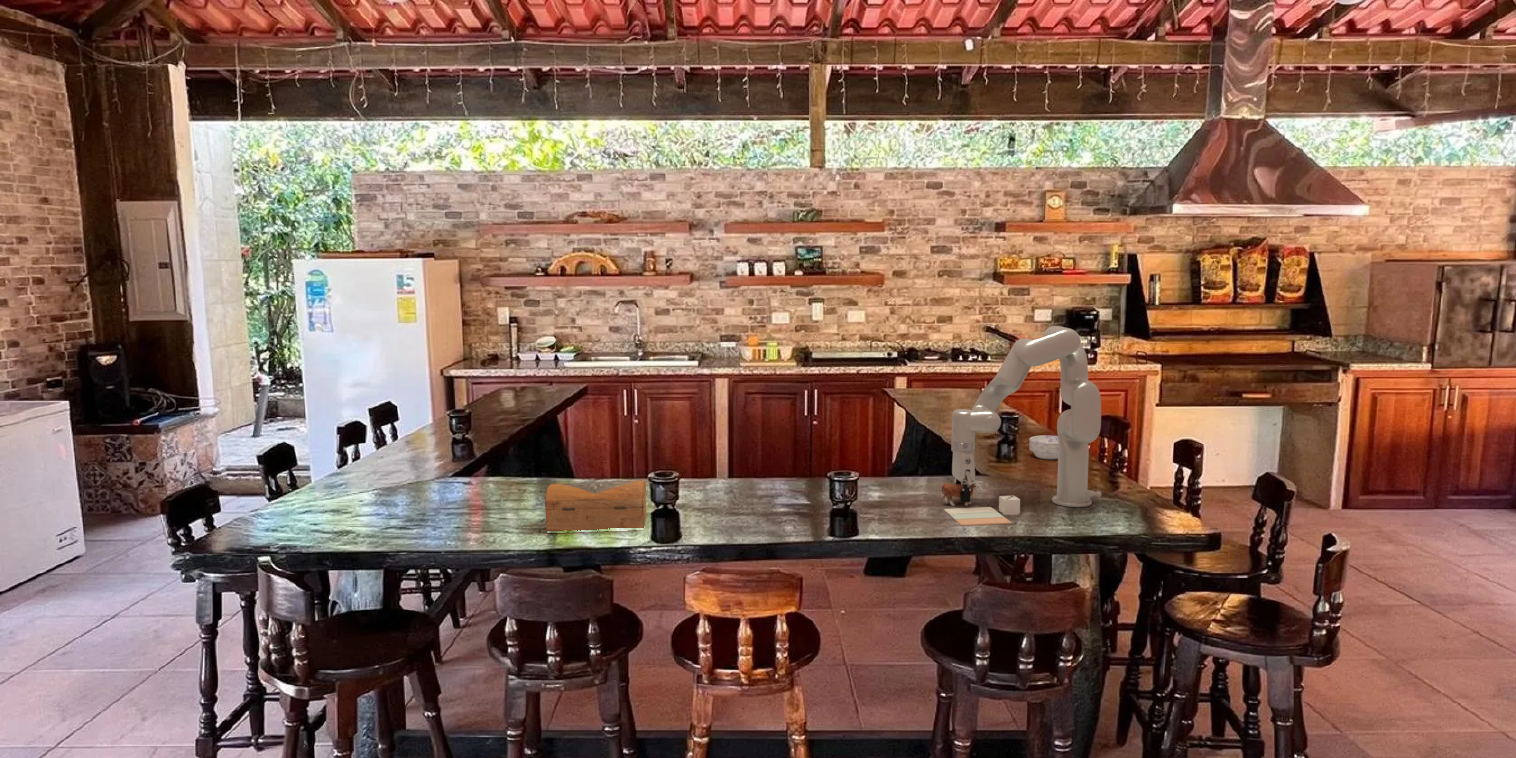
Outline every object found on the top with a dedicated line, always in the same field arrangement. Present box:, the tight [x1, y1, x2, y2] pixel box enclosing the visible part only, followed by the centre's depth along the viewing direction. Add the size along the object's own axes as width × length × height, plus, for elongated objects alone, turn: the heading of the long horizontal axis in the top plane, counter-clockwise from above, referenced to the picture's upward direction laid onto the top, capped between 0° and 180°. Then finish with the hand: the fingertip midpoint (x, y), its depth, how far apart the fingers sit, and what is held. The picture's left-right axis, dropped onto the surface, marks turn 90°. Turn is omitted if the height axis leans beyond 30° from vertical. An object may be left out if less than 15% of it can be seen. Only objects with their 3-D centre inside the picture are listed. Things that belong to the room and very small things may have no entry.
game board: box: [943, 506, 1013, 527], centre depth 280 cm, size 16×18×1 cm
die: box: [998, 495, 1021, 516], centre depth 284 cm, size 5×5×5 cm
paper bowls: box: [1028, 434, 1059, 460], centre depth 362 cm, size 15×15×8 cm
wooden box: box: [544, 480, 647, 532], centre depth 276 cm, size 30×16×14 cm, turn 93°
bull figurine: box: [941, 481, 984, 507], centre depth 293 cm, size 4×13×8 cm, turn 78°
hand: (962, 499), depth 293 cm, fingers open, 5 cm apart
